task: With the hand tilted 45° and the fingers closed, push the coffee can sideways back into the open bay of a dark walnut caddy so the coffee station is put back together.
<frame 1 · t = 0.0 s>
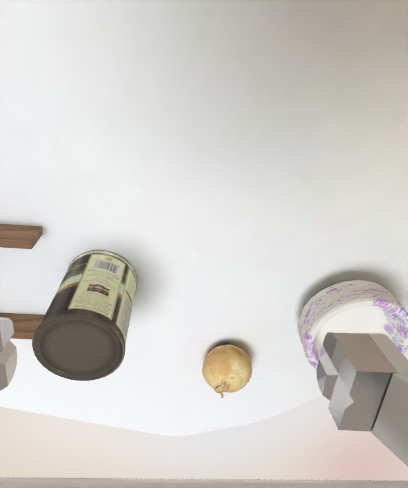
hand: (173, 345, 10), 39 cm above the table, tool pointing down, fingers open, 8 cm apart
coffee can: (103, 279, 55), on the table
onion: (225, 354, 63), on the table
caddy: (10, 275, 54), on the table
paper bowls: (339, 307, 60), on the table
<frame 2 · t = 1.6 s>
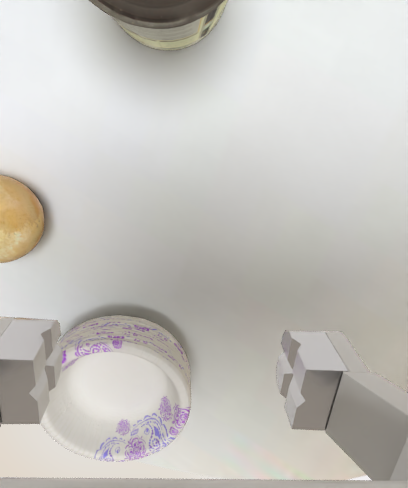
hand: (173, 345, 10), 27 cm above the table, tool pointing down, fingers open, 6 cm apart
onion: (10, 208, 36), on the table
paper bowls: (124, 354, 44), on the table
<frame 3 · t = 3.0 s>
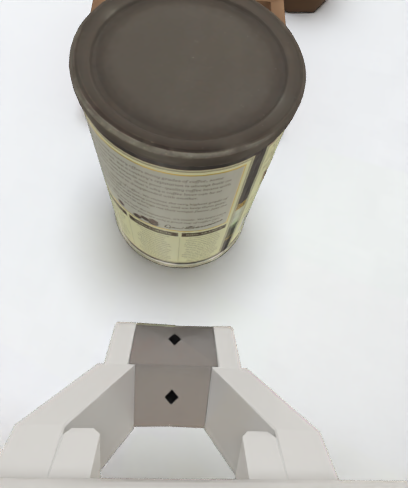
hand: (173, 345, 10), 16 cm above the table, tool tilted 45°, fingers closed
coffee can: (180, 208, 29), on the table
caddy: (186, 80, 34), on the table
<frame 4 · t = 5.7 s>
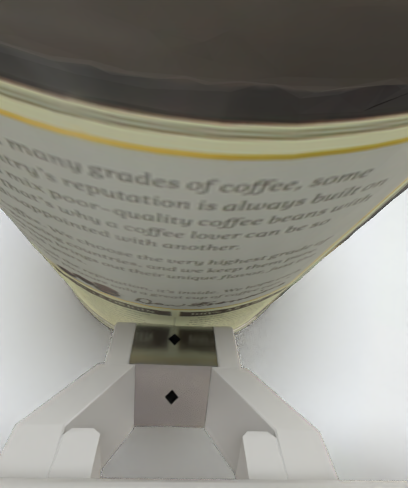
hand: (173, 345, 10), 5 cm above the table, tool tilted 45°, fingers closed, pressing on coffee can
coffee can: (177, 231, 17), on the table, touching gripper
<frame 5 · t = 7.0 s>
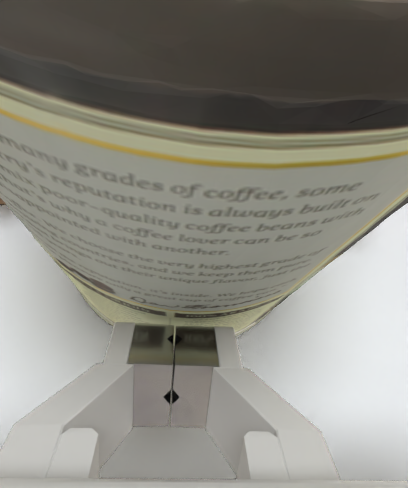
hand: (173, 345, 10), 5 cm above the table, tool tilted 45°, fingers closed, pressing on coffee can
coffee can: (182, 232, 17), on the table, touching gripper
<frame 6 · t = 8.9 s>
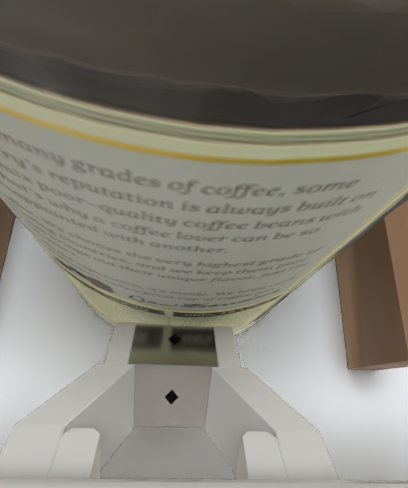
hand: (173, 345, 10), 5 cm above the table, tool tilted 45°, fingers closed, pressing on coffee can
coffee can: (181, 231, 17), on the table, touching gripper
caddy: (179, 240, 16), on the table
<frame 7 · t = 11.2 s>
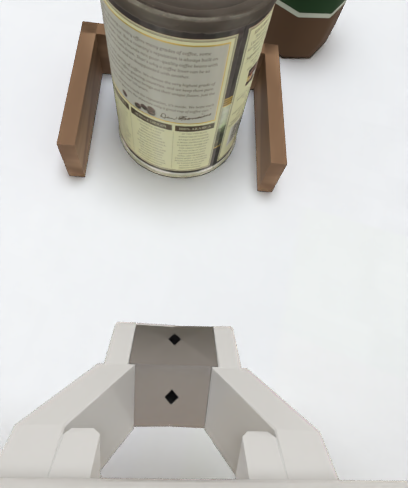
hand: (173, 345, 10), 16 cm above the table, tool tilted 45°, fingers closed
beer bottle: (288, 35, 39), on the table
coffee can: (177, 130, 33), on the table
caddy: (176, 133, 32), on the table
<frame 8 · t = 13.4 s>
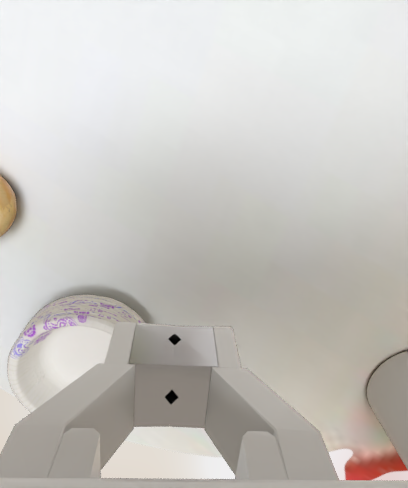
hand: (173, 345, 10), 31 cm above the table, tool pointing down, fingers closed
cylinder vase: (407, 381, 53), on the table
paper bowls: (96, 333, 47), on the table
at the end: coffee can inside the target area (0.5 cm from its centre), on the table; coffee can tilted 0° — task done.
